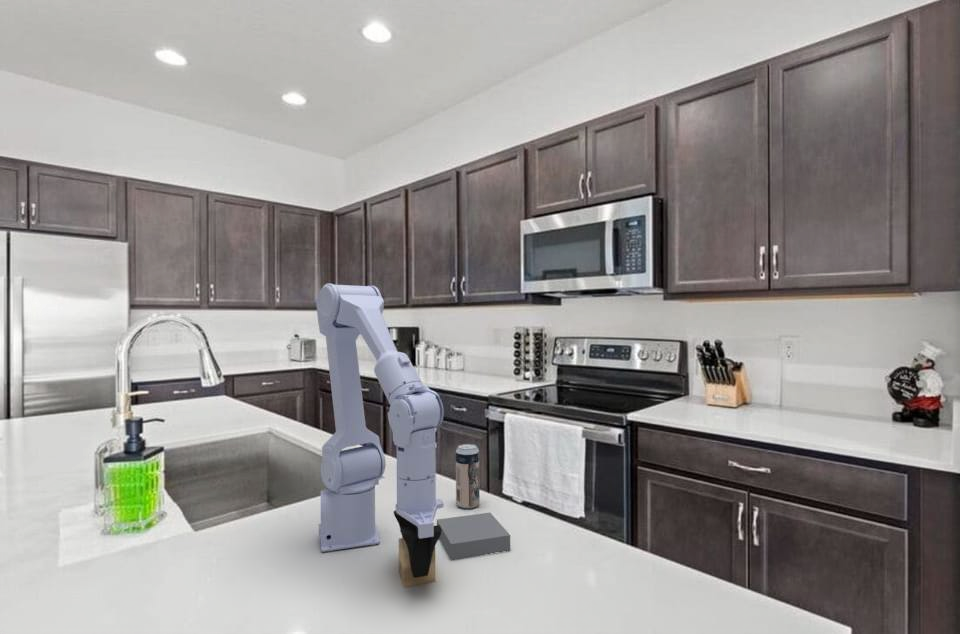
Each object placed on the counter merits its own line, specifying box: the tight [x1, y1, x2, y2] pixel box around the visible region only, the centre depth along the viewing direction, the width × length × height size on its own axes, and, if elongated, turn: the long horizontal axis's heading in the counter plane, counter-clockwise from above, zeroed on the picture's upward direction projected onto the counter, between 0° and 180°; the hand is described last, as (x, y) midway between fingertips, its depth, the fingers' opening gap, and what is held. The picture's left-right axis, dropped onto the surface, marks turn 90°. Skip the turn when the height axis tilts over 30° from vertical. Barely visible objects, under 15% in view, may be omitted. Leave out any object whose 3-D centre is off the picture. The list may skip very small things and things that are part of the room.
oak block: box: [398, 537, 437, 588], centre depth 72 cm, size 5×5×5 cm
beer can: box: [455, 443, 480, 510], centre depth 100 cm, size 5×5×12 cm
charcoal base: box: [436, 512, 511, 561], centre depth 83 cm, size 10×10×3 cm
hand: (416, 566), depth 72 cm, fingers open, 5 cm apart
